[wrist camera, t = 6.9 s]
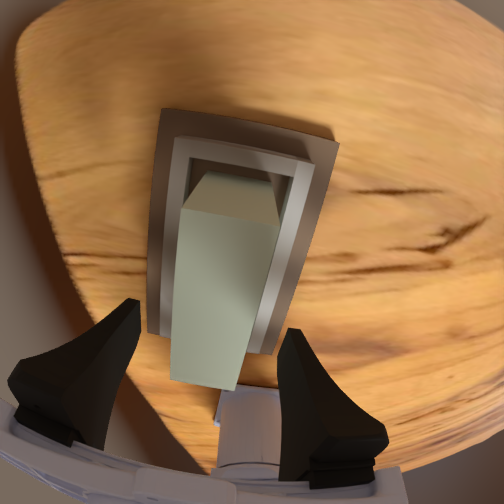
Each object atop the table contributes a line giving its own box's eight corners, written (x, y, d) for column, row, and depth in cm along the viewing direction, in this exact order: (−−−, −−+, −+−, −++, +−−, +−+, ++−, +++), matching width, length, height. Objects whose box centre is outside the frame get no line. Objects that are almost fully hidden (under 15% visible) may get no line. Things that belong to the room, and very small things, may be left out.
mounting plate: (271, 346, 26) (272, 367, 24) (150, 325, 25) (142, 344, 23) (335, 141, 18) (346, 146, 15) (166, 108, 17) (153, 109, 15)
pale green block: (239, 319, 23) (234, 391, 17) (189, 310, 23) (170, 379, 17) (271, 182, 18) (280, 226, 12) (207, 170, 18) (181, 207, 12)
